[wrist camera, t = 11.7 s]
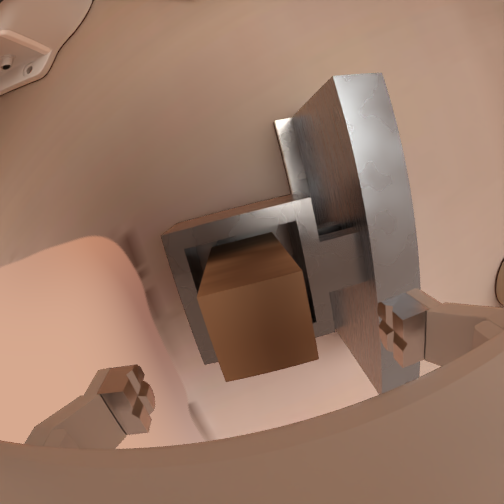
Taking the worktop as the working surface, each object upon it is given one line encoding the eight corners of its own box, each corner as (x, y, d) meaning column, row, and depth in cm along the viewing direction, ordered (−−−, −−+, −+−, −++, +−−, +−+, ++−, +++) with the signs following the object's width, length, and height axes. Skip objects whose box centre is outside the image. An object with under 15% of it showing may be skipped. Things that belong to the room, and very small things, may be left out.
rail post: (227, 302, 21) (226, 381, 12) (211, 247, 20) (196, 297, 11) (284, 288, 21) (318, 359, 12) (271, 231, 20) (302, 270, 11)
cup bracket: (230, 352, 30) (232, 440, 18) (172, 148, 25) (127, 123, 13) (373, 312, 30) (435, 375, 18) (337, 111, 25) (403, 72, 13)
